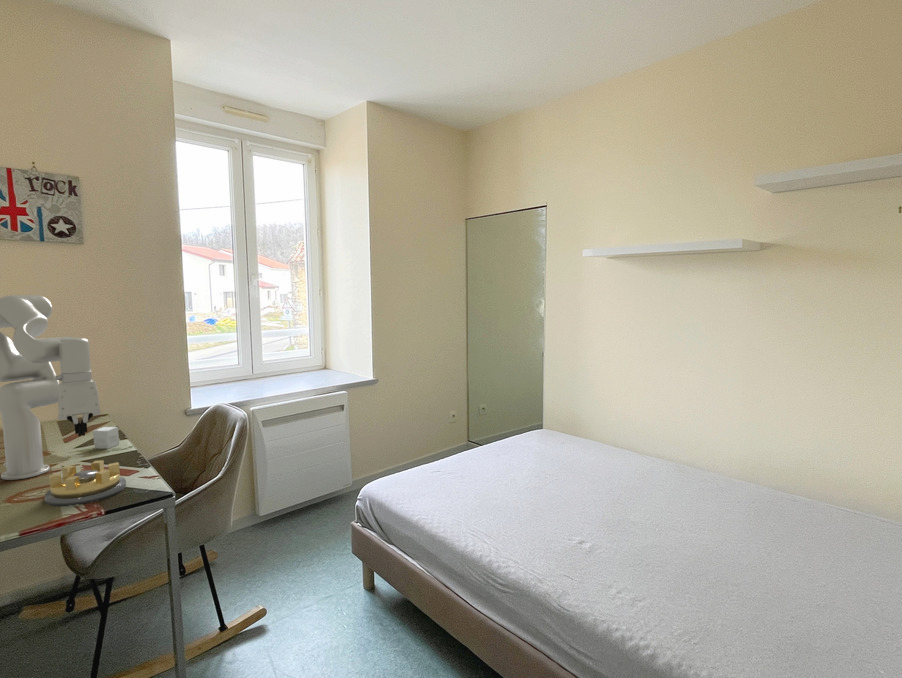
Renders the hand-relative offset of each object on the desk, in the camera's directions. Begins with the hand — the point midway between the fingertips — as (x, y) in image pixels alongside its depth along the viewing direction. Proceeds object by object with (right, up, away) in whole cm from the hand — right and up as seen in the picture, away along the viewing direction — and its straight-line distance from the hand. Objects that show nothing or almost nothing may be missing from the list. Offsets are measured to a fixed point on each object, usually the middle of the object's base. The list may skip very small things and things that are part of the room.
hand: (81, 435), depth 154 cm
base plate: (+5, -17, -4) cm, 18 cm away
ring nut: (+5, -15, -4) cm, 16 cm away
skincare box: (-23, -13, +43) cm, 51 cm away
